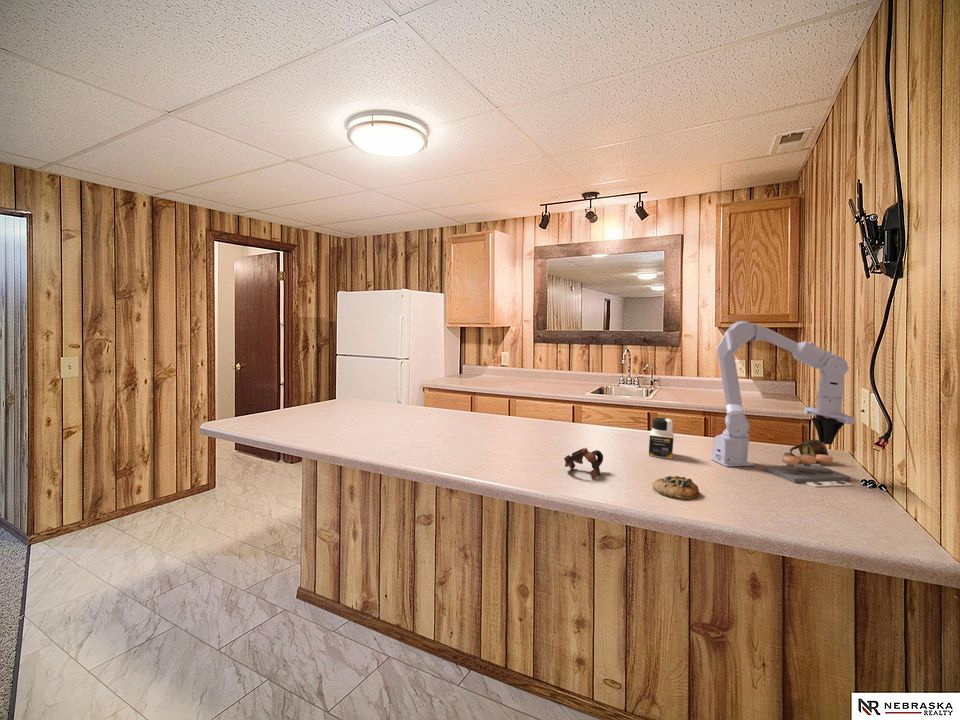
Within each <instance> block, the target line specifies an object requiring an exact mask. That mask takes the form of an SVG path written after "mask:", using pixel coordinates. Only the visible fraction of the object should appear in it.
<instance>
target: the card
mask: <svg viewBox="0 0 960 720" xmlns="http://www.w3.org/2000/svg"><path fill="white" fill-rule="evenodd" d="M805 484H807V485H809V486H811V487H814V488H819V487H820V488H822V487H823V488H824V487H825V488H826V487H847V486H848V487H852V486H854V484H853V483H850V482H848V481H823V482H805Z"/></svg>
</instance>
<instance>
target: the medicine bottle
mask: <svg viewBox="0 0 960 720" xmlns="http://www.w3.org/2000/svg"><path fill="white" fill-rule="evenodd" d="M673 423H674V422H673V420H672V419H670V418H666V417H655V418H653V419H652V426H651V427H652V429H651V430H650V432H649V441H648V457H654V458H655V457H656V458H662V459H663V458H664V459H669V460H670V459H671V460H672V459H673V453H674V452H673V450H674V436H675V434H674V432H673Z"/></svg>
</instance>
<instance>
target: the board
mask: <svg viewBox="0 0 960 720" xmlns="http://www.w3.org/2000/svg"><path fill="white" fill-rule="evenodd" d="M764 471H766V472H768V473H770V474H773V475H775V476H778V477H780V478H782V479H784V480H786V481H789V482H792V483H793V484H797V483H799V484H800V483H802V484H803V483H805V482H823V481H845V482H851V480H852V479H851V478H852V477H851V476H850V475H846V474H844V473H841V472H839V471H836V470H833V469H830V468H828V467H826V466H822V465H820V464H811V466H810V467H808V466H804V465H803V464H799V465H794V467H789V466H787V465H764ZM805 484H806V483H805Z"/></svg>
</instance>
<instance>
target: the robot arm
mask: <svg viewBox="0 0 960 720" xmlns="http://www.w3.org/2000/svg"><path fill="white" fill-rule="evenodd" d="M752 340H753V341H765V342H768V343H770V344H773V345H774V346H777V347H779V348H782V349H784V350H786V351H788V352H790V353H791V354H792V355H791V356H792V357H793V359H794V360H797V361H798V362H801V363H802V364H804V365H807V366H808V367H812V368H813V369H815V370H816V369H818V370H819V371H820V377H819V383H818V393H817V402H816V403H817V404H816V408H815V407H811V406H810V407H809V406H806V407H804V413H803V414H806V415H811V416H815V417H811V422H812V423H813V425H814V427H815V430H816V432H817V433H816V434H817V436H818V440H819V442H820V443H823V444H824V445H833V443H834V440H835V438H836V436H837V435H838V433H839V431H840V429H841V428H842V427H843V426H844V425H845V424H846V425H855V420H856V417H855V416H850V415H847V414H845V413H844V412H842V407H843V396H844V387H845V381H844V380H845V374H847V373H848V372H849V371H848V370H849V366H848V362H847V361H846V360H845V359H844V358H843V357H842V356H838V355H836V354H833V351H832V350H824V349H823V348H820V347H818V346H816V343H815V342H812V341H809V342H808V341H801V342H797V341H795V340H792V339H791V338H788V337H786V336H785V335H782V334H781V333H778V332H776V331H774V330H772V329H770V328H768V327H766V326H763V325H762V326H761V325H758V324H756V323H755V324H754V323H751V322H749V321H747V320H739V321H735V322H733V324H731V326H729V327H728V328H727V329H726V331H725V332H724V335H723V336H722V338H721V341H720V342H719V344H718V346H717V349H716V351H717V357H718V364H719V370H720V377H721V383H722V384H721V385H722V389H723V396H724V403H725V409H726V415H725V418H724V423H725V429H724V430H723V431H722V433H721V434H718V435H715V437H713V440H712V454H711V457H710V460H711V461H714V462H715V463H719V464H720V465H723V466H724V467H751V466H752V467H754V465H755V463H752V462H750V461H748V455H749V441H750V434H749V431H750V427H751V425H750V423H749V421H748V419H747V416H746V415H745V412H744V406H743V402H742V401H743V400H742V396H741V388H740V382H739V376H738V370H737V369H738V368H737V364H736V357H735V353H736V352H737V351H738V350H740V348H741V347H742V345H744V344H746V343H748V342H749V341H752Z"/></svg>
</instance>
